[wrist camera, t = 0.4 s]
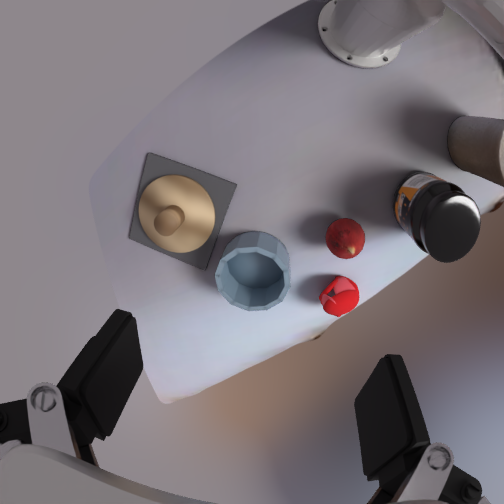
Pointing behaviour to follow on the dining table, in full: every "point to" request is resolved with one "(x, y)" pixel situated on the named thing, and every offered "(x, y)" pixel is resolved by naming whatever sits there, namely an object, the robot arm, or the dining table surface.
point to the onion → (345, 238)
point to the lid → (177, 213)
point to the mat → (213, 185)
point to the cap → (340, 296)
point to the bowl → (254, 271)
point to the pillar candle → (478, 146)
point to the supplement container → (437, 216)
